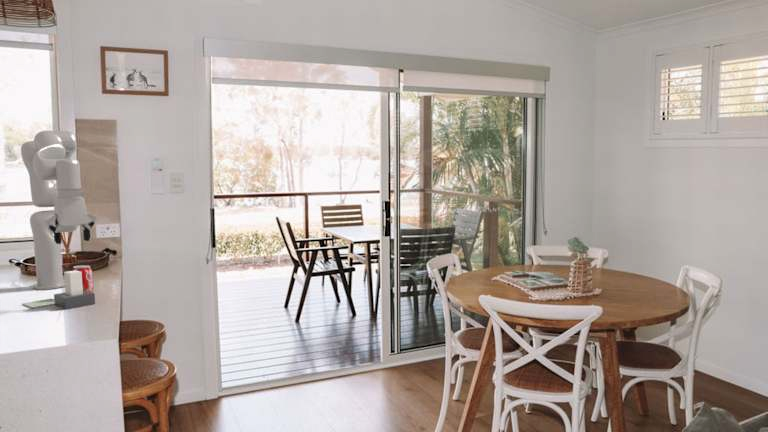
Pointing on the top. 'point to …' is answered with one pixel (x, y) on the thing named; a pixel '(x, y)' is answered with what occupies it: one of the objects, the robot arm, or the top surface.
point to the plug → (73, 283)
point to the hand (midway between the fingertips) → (72, 242)
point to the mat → (40, 303)
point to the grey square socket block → (74, 300)
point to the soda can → (85, 276)
